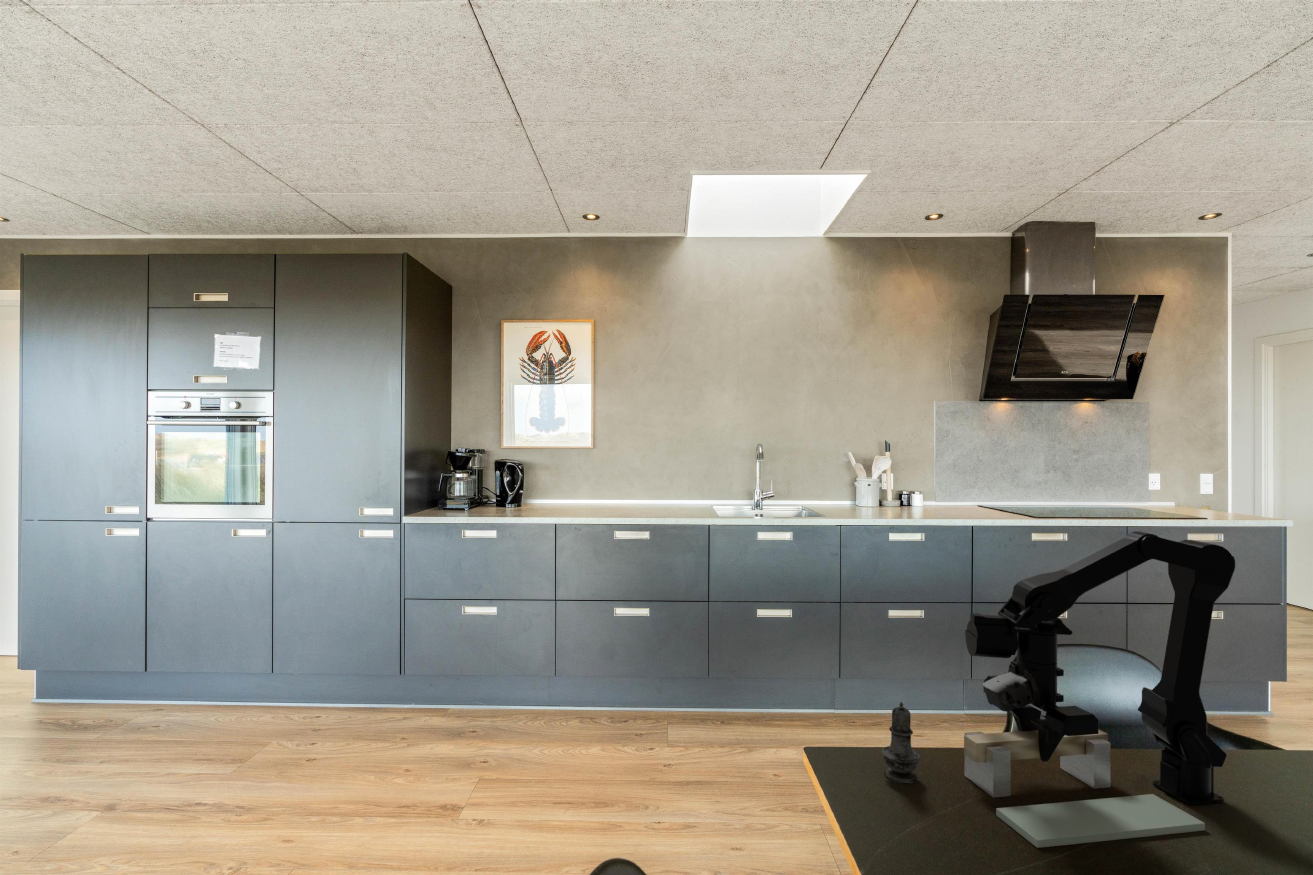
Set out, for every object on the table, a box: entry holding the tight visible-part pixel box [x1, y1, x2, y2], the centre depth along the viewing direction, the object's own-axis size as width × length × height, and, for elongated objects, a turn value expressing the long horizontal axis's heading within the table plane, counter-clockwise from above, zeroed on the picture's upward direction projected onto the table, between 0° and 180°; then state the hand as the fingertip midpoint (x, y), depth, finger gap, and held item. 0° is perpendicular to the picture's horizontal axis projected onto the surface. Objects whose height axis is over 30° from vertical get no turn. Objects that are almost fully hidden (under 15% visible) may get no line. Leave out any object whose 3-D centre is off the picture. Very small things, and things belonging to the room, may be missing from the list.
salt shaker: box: [881, 701, 921, 784], centre depth 107 cm, size 6×6×12 cm
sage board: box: [995, 793, 1206, 849], centre depth 94 cm, size 27×8×1 cm, turn 100°
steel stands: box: [964, 731, 1112, 798], centre depth 106 cm, size 21×7×7 cm, turn 100°
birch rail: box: [963, 729, 1109, 763], centre depth 106 cm, size 24×3×3 cm, turn 100°
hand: (1036, 756), depth 106 cm, fingers closed on birch rail, 3 cm apart
